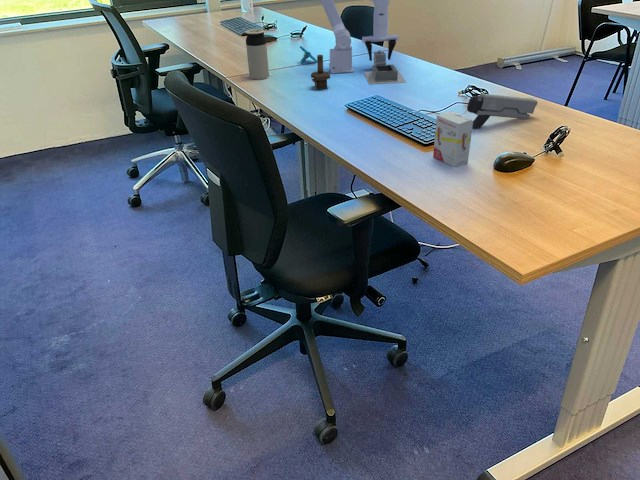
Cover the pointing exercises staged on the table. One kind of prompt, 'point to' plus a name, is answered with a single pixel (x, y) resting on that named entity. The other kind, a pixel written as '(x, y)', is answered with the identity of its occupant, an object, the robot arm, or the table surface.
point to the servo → (379, 58)
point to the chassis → (384, 75)
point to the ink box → (452, 138)
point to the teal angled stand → (306, 55)
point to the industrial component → (320, 75)
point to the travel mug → (257, 54)
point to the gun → (499, 107)
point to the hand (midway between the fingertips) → (379, 59)
